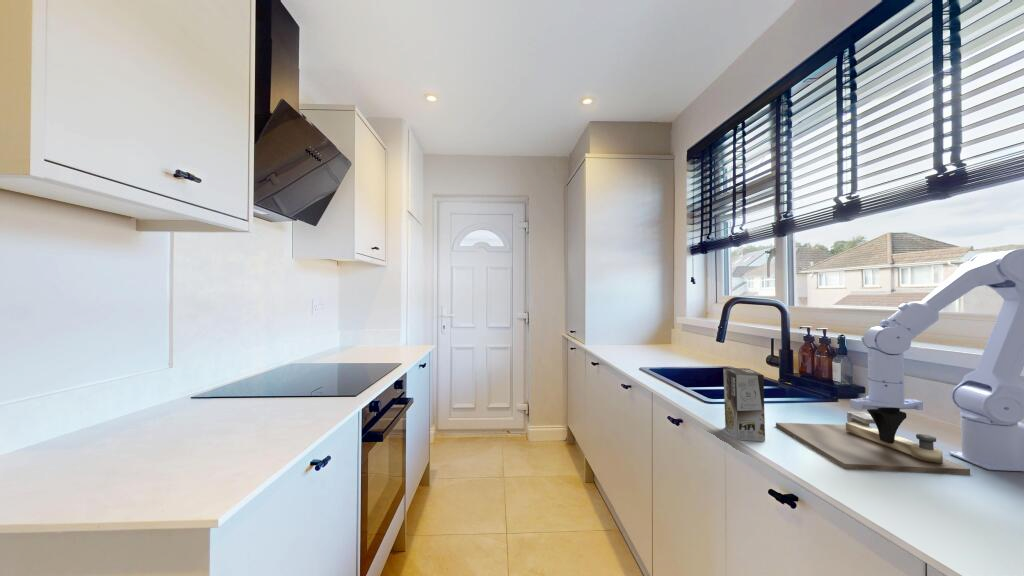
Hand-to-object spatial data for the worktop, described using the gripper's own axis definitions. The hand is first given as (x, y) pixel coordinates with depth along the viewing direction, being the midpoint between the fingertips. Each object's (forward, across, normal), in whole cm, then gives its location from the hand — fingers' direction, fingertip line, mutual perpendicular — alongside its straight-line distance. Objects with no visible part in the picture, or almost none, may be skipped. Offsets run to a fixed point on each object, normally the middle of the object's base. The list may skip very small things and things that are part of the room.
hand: (886, 441), depth 84 cm
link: (+1, -2, -1) cm, 2 cm away
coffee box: (+3, +24, -12) cm, 27 cm away
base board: (+2, +3, -4) cm, 5 cm away
